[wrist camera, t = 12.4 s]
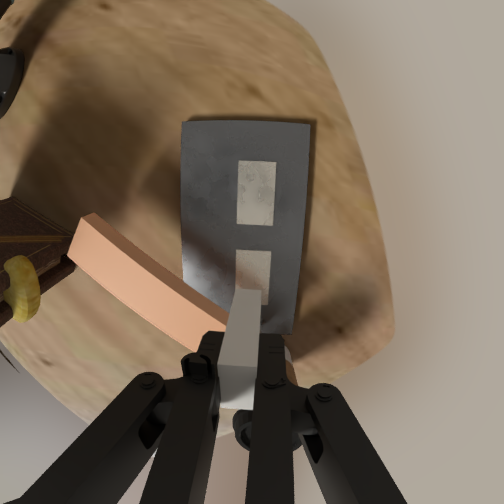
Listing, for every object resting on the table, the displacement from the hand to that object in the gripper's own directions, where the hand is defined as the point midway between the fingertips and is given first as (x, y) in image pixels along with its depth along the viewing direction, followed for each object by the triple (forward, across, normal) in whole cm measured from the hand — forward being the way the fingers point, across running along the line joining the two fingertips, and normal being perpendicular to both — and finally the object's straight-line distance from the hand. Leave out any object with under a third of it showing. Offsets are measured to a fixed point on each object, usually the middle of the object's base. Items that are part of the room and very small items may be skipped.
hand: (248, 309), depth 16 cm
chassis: (+17, -2, 0) cm, 17 cm away
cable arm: (+10, -9, -5) cm, 14 cm away
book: (+17, -34, 0) cm, 38 cm away
